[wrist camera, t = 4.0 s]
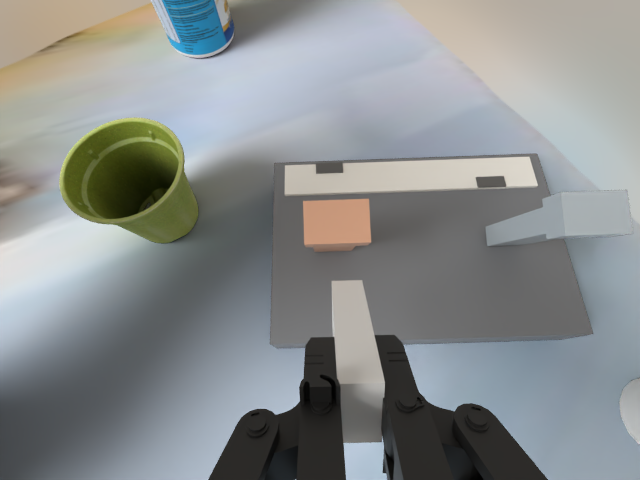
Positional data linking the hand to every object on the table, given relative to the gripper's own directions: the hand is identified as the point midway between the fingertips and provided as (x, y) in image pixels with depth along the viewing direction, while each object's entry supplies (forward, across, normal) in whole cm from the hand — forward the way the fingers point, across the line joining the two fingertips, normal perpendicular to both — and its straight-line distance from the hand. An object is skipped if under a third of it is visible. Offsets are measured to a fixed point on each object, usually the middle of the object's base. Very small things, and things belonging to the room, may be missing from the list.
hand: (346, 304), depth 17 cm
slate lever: (+12, +14, -2) cm, 18 cm away
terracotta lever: (+12, 0, -2) cm, 12 cm away
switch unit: (+15, +7, -4) cm, 17 cm away
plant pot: (+18, -16, -1) cm, 24 cm away
